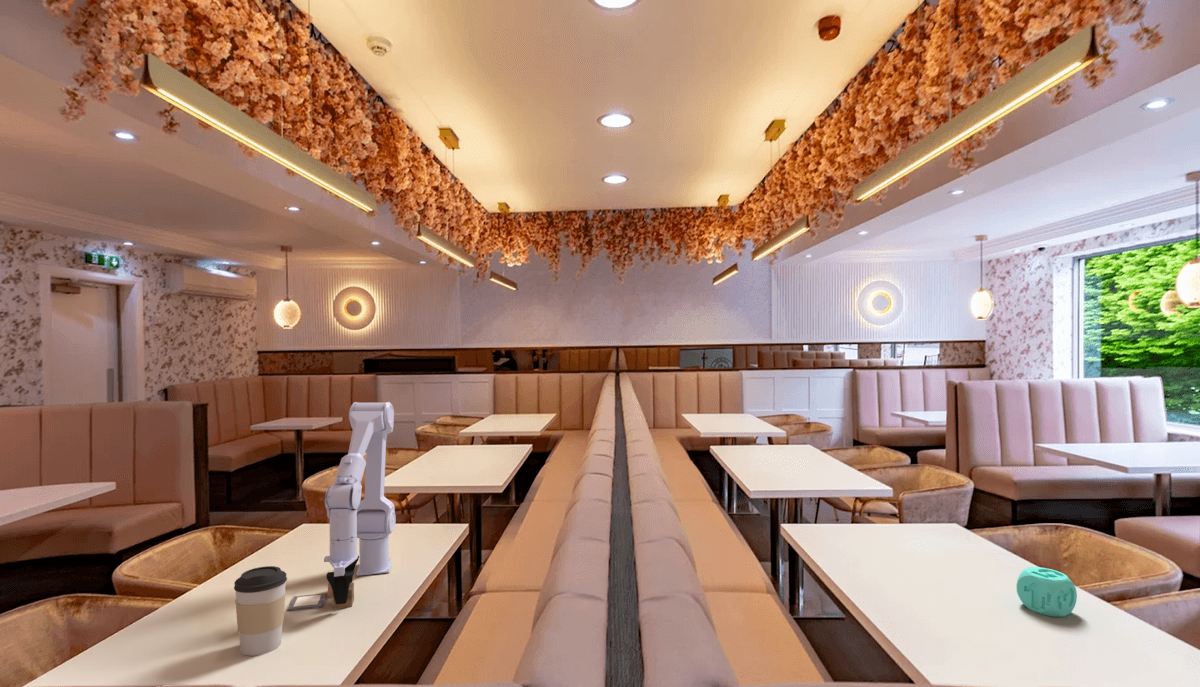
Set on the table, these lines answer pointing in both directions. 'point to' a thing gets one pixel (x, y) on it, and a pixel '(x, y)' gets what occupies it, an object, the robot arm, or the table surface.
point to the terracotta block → (330, 590)
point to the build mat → (307, 602)
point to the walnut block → (349, 599)
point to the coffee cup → (260, 609)
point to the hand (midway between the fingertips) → (343, 596)
